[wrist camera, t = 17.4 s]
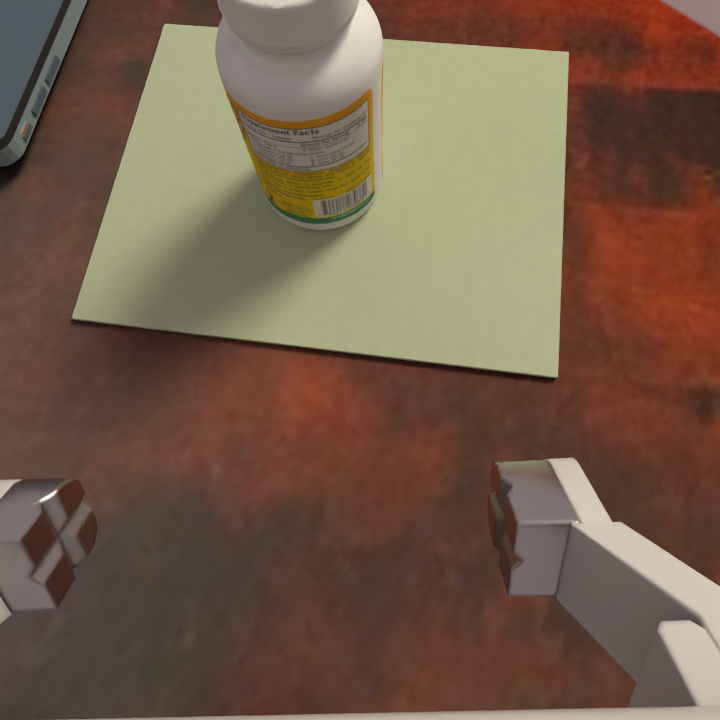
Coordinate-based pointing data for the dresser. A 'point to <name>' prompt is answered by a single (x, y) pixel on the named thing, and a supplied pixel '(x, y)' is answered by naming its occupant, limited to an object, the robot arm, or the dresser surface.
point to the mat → (360, 237)
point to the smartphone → (30, 64)
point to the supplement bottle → (307, 102)
